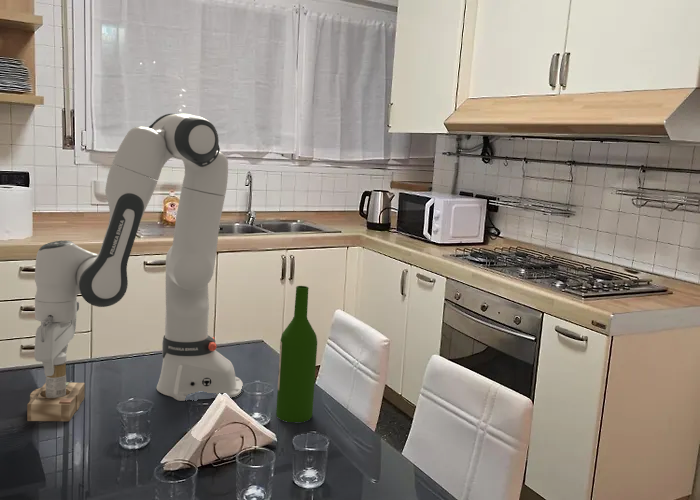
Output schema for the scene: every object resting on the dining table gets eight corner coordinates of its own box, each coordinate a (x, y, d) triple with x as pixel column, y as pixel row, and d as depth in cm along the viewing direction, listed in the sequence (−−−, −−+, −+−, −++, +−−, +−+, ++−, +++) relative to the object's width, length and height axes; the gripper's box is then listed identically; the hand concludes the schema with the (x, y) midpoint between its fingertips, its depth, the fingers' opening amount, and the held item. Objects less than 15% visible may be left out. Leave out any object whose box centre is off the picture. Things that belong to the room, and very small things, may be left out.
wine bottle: (277, 407, 165) (285, 282, 160) (313, 410, 165) (321, 284, 161) (274, 422, 156) (281, 289, 152) (311, 424, 156) (320, 292, 152)
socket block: (85, 398, 162) (85, 381, 162) (70, 421, 149) (70, 403, 148) (40, 397, 161) (41, 380, 160) (21, 420, 147) (21, 402, 146)
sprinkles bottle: (63, 403, 158) (63, 350, 156) (68, 410, 154) (69, 355, 152) (42, 407, 155) (42, 352, 153) (48, 414, 151) (48, 358, 150)
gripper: (57, 322, 141) (57, 383, 143) (81, 301, 161) (80, 355, 163) (26, 322, 140) (26, 383, 142) (54, 300, 160) (53, 354, 162)
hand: (55, 368), depth 153 cm, fingers open, 8 cm apart
